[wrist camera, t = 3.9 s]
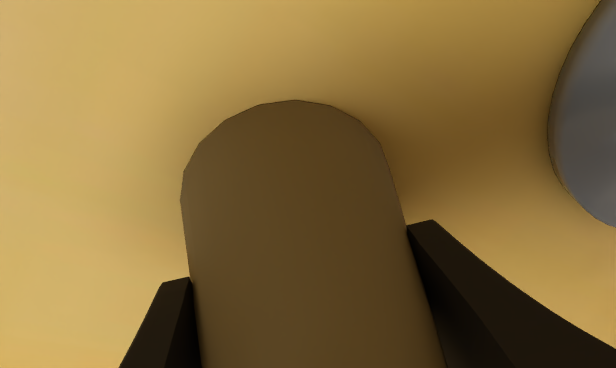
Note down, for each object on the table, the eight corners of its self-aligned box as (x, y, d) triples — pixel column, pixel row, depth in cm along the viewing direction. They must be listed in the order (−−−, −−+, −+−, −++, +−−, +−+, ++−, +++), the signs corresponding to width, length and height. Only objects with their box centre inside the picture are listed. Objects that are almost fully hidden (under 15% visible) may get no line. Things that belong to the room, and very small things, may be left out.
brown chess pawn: (431, 175, 15) (784, 698, 6) (300, 300, 17) (402, 833, 8) (270, 53, 12) (450, 696, 3) (137, 220, 14) (-10, 907, 5)
